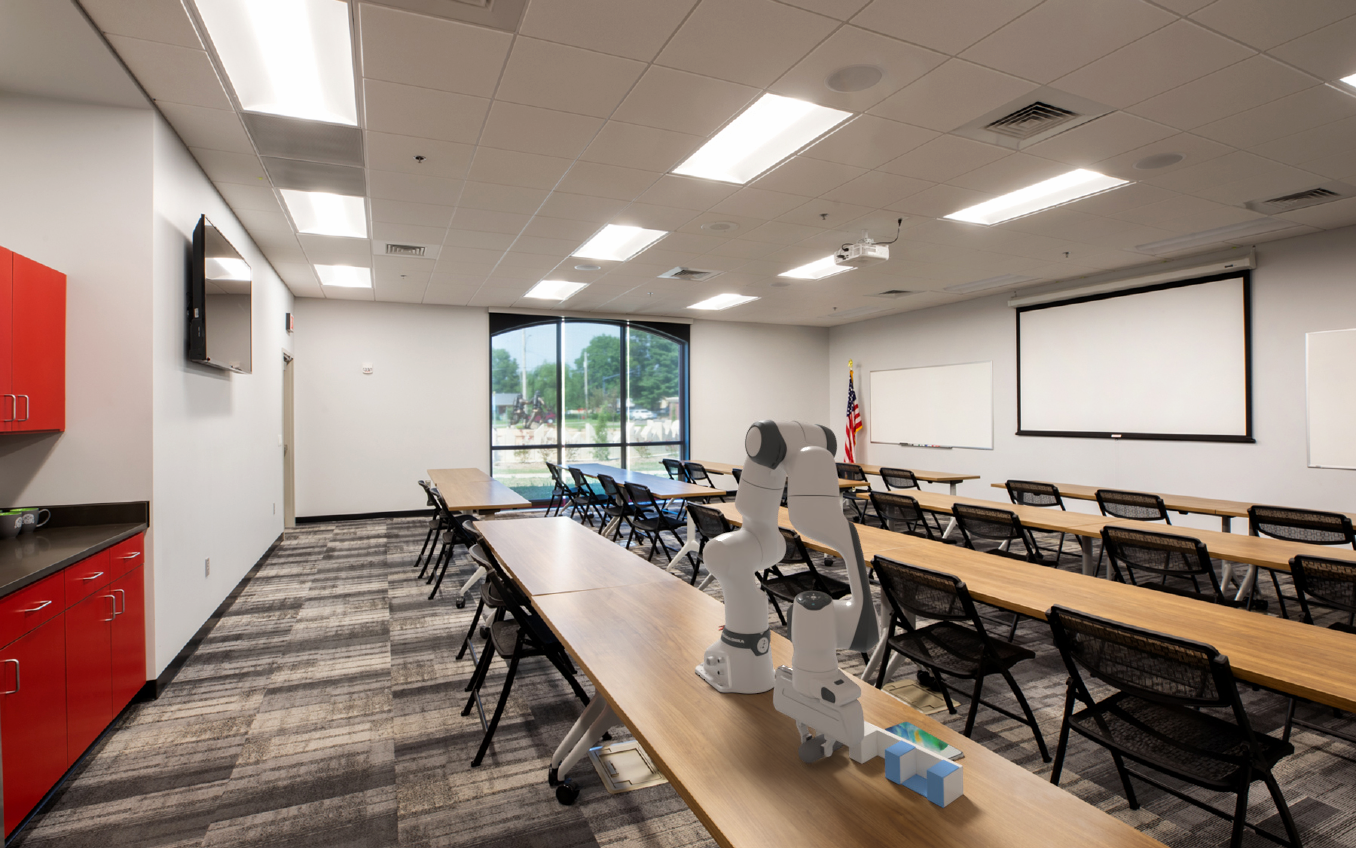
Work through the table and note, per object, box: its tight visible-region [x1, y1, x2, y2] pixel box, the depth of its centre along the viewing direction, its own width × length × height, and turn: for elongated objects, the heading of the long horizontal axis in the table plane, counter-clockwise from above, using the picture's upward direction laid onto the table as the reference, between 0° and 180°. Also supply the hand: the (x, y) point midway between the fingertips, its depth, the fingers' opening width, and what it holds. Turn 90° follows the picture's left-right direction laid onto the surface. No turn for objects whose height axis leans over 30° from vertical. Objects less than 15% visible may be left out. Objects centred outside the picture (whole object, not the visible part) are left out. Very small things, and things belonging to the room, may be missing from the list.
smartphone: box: [883, 721, 965, 761], centre depth 126 cm, size 7×1×15 cm
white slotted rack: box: [815, 720, 964, 809], centre depth 118 cm, size 28×6×5 cm, turn 36°
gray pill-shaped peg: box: [797, 734, 844, 764], centre depth 120 cm, size 4×12×4 cm, turn 127°
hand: (816, 749), depth 119 cm, fingers closed on gray pill-shaped peg, 4 cm apart
